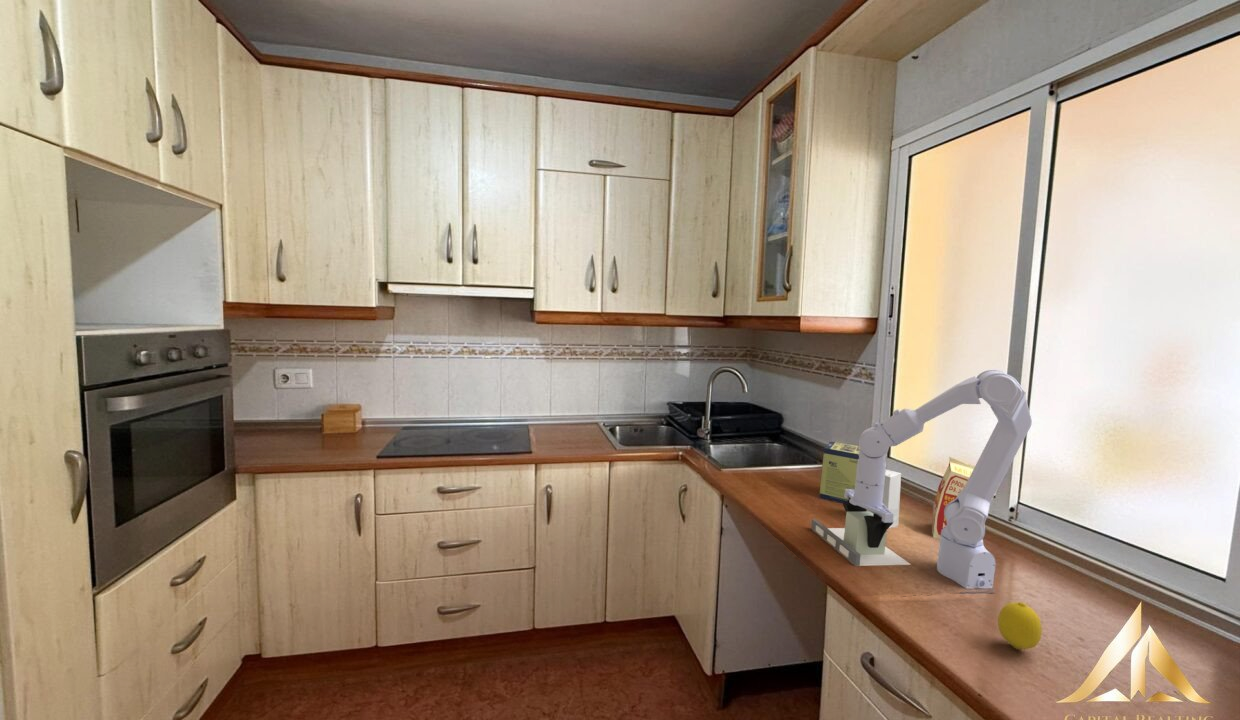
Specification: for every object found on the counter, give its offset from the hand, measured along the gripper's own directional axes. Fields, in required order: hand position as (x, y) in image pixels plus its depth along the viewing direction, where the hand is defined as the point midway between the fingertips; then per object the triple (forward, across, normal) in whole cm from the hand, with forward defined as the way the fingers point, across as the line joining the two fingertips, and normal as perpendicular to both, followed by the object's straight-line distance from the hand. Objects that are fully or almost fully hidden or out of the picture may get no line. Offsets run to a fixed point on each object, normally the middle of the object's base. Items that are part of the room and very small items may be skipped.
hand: (863, 540), depth 112 cm
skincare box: (+4, -15, +14) cm, 21 cm away
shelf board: (+3, -2, 0) cm, 4 cm away
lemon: (+4, +32, +6) cm, 33 cm away
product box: (+2, 0, 0) cm, 2 cm away
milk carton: (+4, -9, +31) cm, 32 cm away
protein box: (+4, -33, +18) cm, 38 cm away
